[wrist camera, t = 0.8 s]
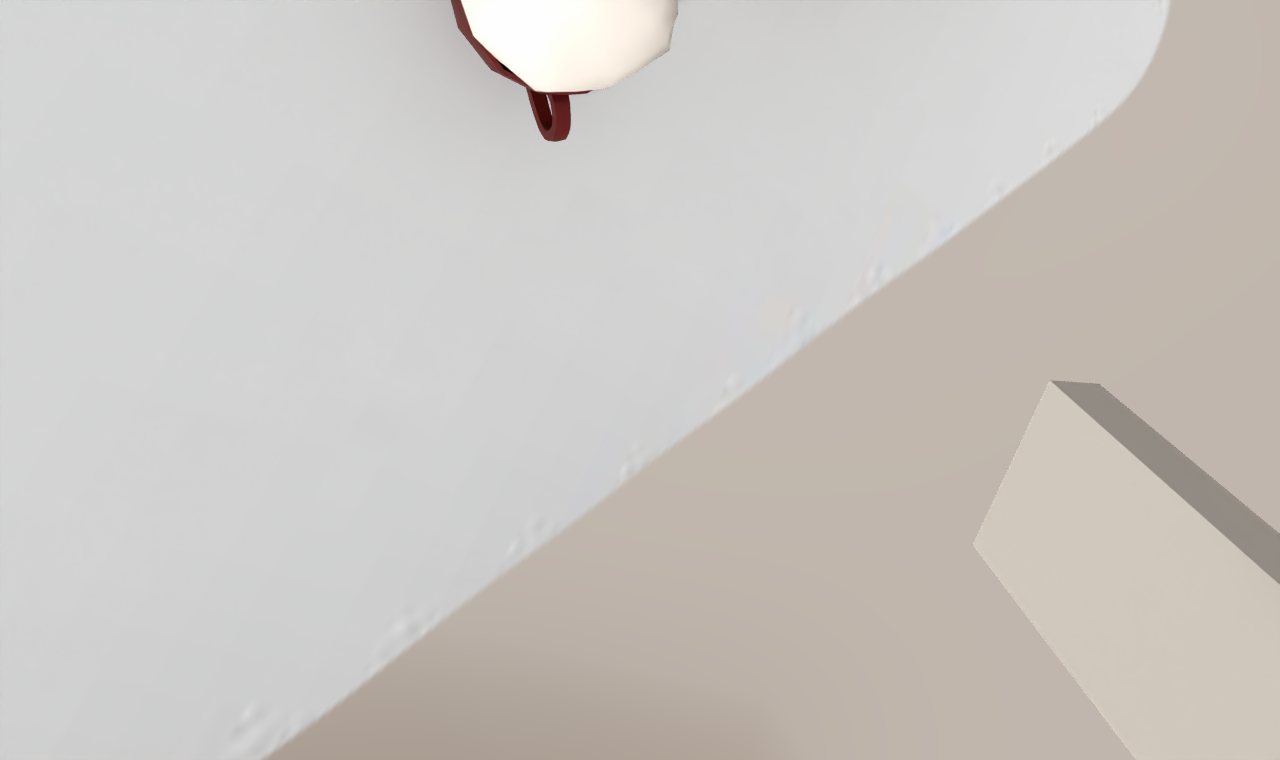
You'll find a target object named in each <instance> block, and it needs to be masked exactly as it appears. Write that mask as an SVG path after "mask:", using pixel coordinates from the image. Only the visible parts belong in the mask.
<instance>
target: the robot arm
mask: <svg viewBox="0 0 1280 760" xmlns="http://www.w3.org/2000/svg"><path fill="white" fill-rule="evenodd" d="M973 546H974V547H975V549H976V550H977V551H978V552H979V554H980V555H981V556H982V558H983V559H984V560H985V562H986V563H987V564H988V566H989V567H990V568H991V570H992V571H993V572H994V574H995V575H996V576H997V578H998V579H999V580H1000V581H1001V583H1002V584H1003V585H1004V587H1005V588H1006V589H1007V591H1008V592H1009V593H1010V595H1011V596H1012V597H1013V599H1014V600H1015V601H1016V603H1017V604H1018V605H1019V607H1020V608H1021V609H1022V610H1023V612H1024V613H1025V614H1026V616H1027V617H1028V618H1029V620H1030V621H1031V622H1032V624H1033V625H1034V626H1035V628H1036V629H1037V630H1038V631H1039V633H1040V634H1041V635H1042V637H1043V638H1044V639H1045V640H1046V642H1047V643H1048V645H1049V646H1050V647H1051V649H1052V650H1053V651H1054V652H1055V654H1056V655H1057V656H1058V658H1059V659H1060V660H1061V662H1062V663H1063V664H1064V666H1065V667H1066V668H1067V670H1068V671H1069V672H1070V674H1071V675H1072V676H1073V678H1074V679H1075V680H1076V682H1077V683H1078V684H1079V686H1080V687H1081V688H1082V690H1083V691H1084V692H1085V693H1086V695H1087V696H1088V697H1089V699H1090V700H1091V701H1092V703H1093V704H1094V705H1095V707H1096V708H1097V709H1098V710H1099V712H1100V713H1101V714H1102V716H1103V717H1104V718H1105V720H1106V721H1107V722H1108V724H1109V725H1110V726H1111V728H1112V729H1113V730H1114V732H1115V733H1116V734H1117V736H1118V737H1119V738H1120V740H1121V741H1122V742H1123V744H1124V745H1125V746H1126V747H1127V748H1128V750H1129V751H1130V753H1131V754H1132V755H1133V757H1134V758H1135V759H1136V760H1280V534H1279V533H1278V532H1277V531H1276V530H1274V529H1273V528H1272V527H1271V526H1270V525H1268V524H1267V523H1266V522H1265V521H1263V520H1262V519H1261V518H1260V517H1259V516H1257V515H1256V514H1255V513H1254V512H1253V511H1251V510H1250V509H1249V508H1248V507H1247V506H1245V505H1244V504H1243V503H1242V502H1241V501H1239V500H1238V499H1237V498H1236V497H1235V496H1233V495H1232V494H1231V493H1230V492H1229V491H1227V490H1226V489H1225V488H1224V487H1222V486H1221V485H1220V484H1219V483H1218V482H1217V481H1215V480H1214V479H1213V478H1212V477H1211V476H1209V475H1208V474H1207V473H1206V472H1205V471H1203V470H1202V469H1201V468H1200V467H1198V466H1197V465H1196V464H1195V463H1193V462H1192V461H1191V460H1190V459H1189V458H1188V457H1186V456H1185V455H1184V454H1183V453H1182V452H1180V451H1179V450H1178V449H1177V448H1176V447H1174V446H1173V445H1172V444H1171V443H1170V442H1168V441H1167V440H1166V439H1165V438H1163V437H1162V436H1161V435H1160V434H1159V433H1158V432H1156V431H1155V430H1154V429H1153V428H1151V427H1150V426H1149V425H1148V424H1147V423H1145V422H1144V421H1143V420H1142V419H1141V418H1139V417H1138V416H1137V415H1136V414H1134V413H1133V412H1132V411H1131V410H1130V409H1129V408H1127V407H1126V406H1125V405H1124V404H1122V403H1121V402H1120V401H1119V400H1118V399H1117V398H1115V397H1114V396H1113V395H1112V394H1110V393H1109V392H1108V391H1106V389H1105V388H1103V387H1102V386H1101V385H1100V384H1093V383H1077V382H1065V381H1051V380H1050V381H1049V383H1048V385H1047V388H1046V390H1045V392H1044V394H1043V396H1042V398H1041V400H1040V402H1039V405H1038V407H1037V409H1036V411H1035V413H1034V415H1033V417H1032V420H1031V422H1030V424H1029V426H1028V428H1027V430H1026V432H1025V434H1024V437H1023V439H1022V441H1021V443H1020V445H1019V447H1018V449H1017V452H1016V454H1015V456H1014V458H1013V460H1012V462H1011V464H1010V467H1009V469H1008V471H1007V473H1006V475H1005V477H1004V479H1003V481H1002V484H1001V486H1000V488H999V490H998V492H997V494H996V496H995V499H994V501H993V503H992V505H991V507H990V509H989V511H988V513H987V516H986V518H985V520H984V522H983V524H982V526H981V529H980V531H979V533H978V535H977V537H976V539H975V541H974V543H973Z"/></svg>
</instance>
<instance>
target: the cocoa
mask: <svg viewBox="0 0 1280 760" xmlns="http://www.w3.org/2000/svg"><path fill="white" fill-rule="evenodd" d="M451 3H452V6H453V10H454V14H455V18H456V22H457V25H458V28H459V30H460V31H461V32H462V33H463V35H464V36H465V37H466V39H467V40H468V41H469V42H470V44H471V45H472V46H473V48H474V49H475V50H476V51H477V53H478V54H479V55H480V57H481V58H482V59H483V60H484V62H485V63H486V64H487V65H488V67H489V68H490V69H491V70H493V71H495V72H497V73H499V74H501V75H503V76H504V77H506V78H508V79H510V80H512V81H514V82H516V83H518V84H520V85H522V86H524V87H526V89H527V93H528V97H529V100H530V104H531V107H532V111H533V114H534V117H535V120H536V123H537V125H538V128H539V130H540V132H541V134H542V136H543V137H544V139H546V140H548V141H554V142H557V141H561V140H565V139H566V138H567V136H568V134H569V130H570V124H571V113H570V101H569V95H572V94H584V93H588V92H590V91H592V90H596V89H604V88H609V87H611V86H612V85H614V84H616V83H618V82H620V81H621V80H623V79H625V78H627V77H629V76H630V75H632V74H634V73H635V72H637V71H638V70H640V69H641V68H643V67H645V66H646V65H648V64H649V63H651V62H652V61H654V60H655V59H657V58H658V57H660V56H661V55H663V54H664V53H666V52H668V51H669V50H670V44H671V37H672V31H673V24H674V22H675V19H676V17H677V15H678V1H677V0H451ZM546 94H547V95H548V98H549V100H550V103H551V109H552V115H551V111H550V108H549V104H548V100H547V96H546Z"/></svg>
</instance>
